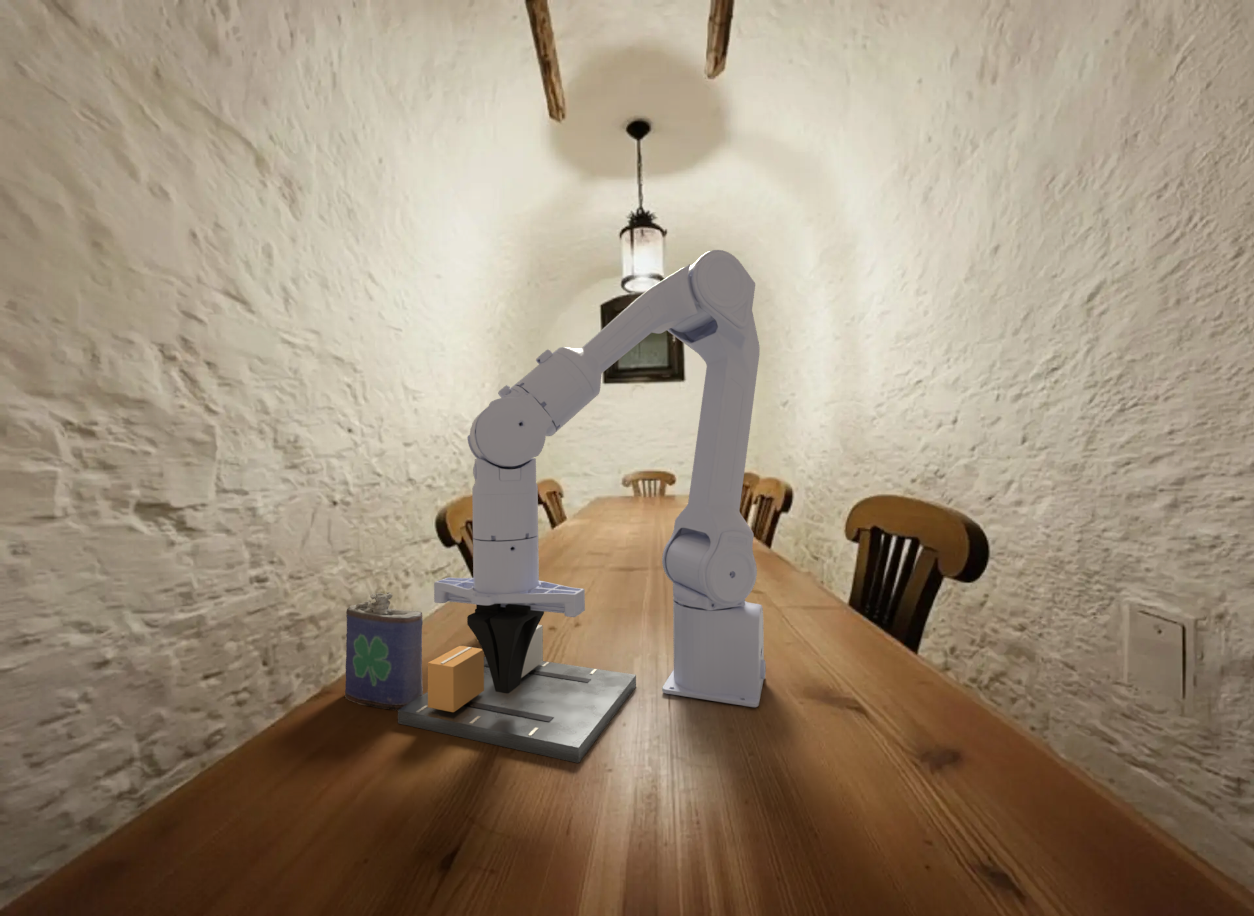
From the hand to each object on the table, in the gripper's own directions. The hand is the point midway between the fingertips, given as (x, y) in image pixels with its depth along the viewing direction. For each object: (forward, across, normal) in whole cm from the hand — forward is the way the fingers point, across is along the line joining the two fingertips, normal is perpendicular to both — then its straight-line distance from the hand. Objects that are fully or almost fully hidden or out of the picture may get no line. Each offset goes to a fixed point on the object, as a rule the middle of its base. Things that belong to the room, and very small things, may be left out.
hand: (507, 687), depth 44 cm
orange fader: (+2, -5, 0) cm, 6 cm away
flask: (+3, -15, 0) cm, 15 cm away
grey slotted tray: (+3, -1, +4) cm, 5 cm away
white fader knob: (+2, -4, +8) cm, 9 cm away
